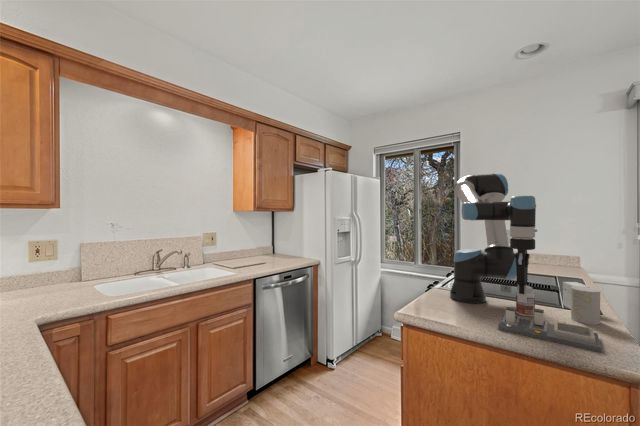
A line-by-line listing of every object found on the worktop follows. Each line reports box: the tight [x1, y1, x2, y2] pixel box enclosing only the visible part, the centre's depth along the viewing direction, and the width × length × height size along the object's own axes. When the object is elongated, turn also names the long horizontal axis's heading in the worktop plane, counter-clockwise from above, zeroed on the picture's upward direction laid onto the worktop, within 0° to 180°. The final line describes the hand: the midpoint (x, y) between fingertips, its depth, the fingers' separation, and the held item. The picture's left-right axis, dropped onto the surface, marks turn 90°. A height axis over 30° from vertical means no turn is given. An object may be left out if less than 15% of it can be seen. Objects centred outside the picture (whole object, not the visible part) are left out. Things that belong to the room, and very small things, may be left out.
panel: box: [497, 313, 603, 353], centre depth 97 cm, size 26×13×3 cm, turn 50°
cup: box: [570, 286, 601, 326], centre depth 108 cm, size 8×8×12 cm
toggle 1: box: [505, 306, 516, 324], centre depth 103 cm, size 2×2×5 cm
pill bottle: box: [515, 285, 536, 317], centre depth 115 cm, size 6×6×11 cm
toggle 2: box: [533, 308, 545, 326], centre depth 101 cm, size 2×2×5 cm
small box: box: [562, 281, 590, 310], centre depth 121 cm, size 8×6×10 cm
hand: (522, 301), depth 105 cm, fingers closed
